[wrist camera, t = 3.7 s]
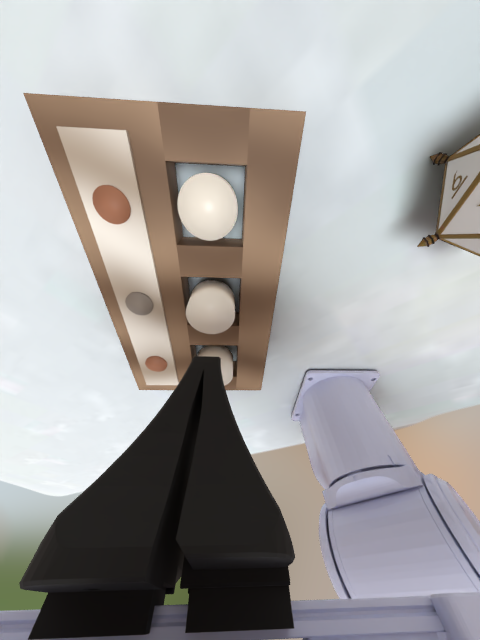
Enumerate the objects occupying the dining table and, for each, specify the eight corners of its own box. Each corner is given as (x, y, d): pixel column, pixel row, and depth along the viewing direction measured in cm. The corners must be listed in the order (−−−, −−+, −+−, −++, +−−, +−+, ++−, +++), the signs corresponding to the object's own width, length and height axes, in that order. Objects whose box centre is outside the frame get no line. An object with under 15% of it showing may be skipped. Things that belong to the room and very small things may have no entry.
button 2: (232, 370, 20) (232, 387, 18) (198, 369, 19) (195, 387, 18) (233, 345, 18) (233, 362, 16) (195, 344, 18) (192, 362, 16)
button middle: (234, 318, 16) (234, 334, 14) (192, 317, 16) (188, 333, 14) (235, 280, 14) (235, 294, 13) (188, 279, 14) (183, 292, 12)
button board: (258, 374, 22) (261, 393, 20) (146, 373, 22) (137, 393, 20) (294, 121, 11) (308, 109, 9) (56, 106, 10) (15, 90, 8)
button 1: (236, 233, 14) (236, 241, 12) (187, 231, 13) (181, 239, 12) (238, 174, 12) (238, 174, 10) (181, 171, 12) (173, 171, 10)
